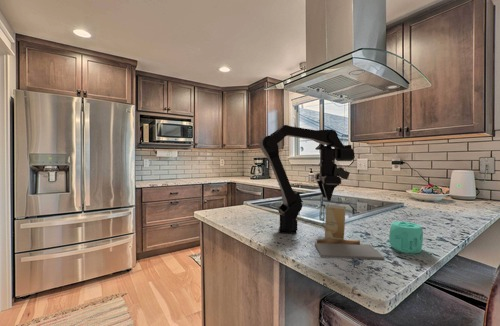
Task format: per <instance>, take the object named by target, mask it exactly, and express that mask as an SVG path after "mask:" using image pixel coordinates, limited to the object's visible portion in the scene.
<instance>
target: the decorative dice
mask: <svg viewBox="0 0 500 326" xmlns="http://www.w3.org/2000/svg"><path fill="white" fill-rule="evenodd" d="M389 228H390V229H389V236H388V237H389V239H388V240H389V245H390V246H391V248H392V249H394V250H396V251H398V252H400V253H406V254H412V255H415V254H421V253H422V249H423V242H424V230H423V227H422V226H421V225H419V224H418V223H414V222H411V221H410V222H409V221H393V222H392V223H391V224H390V227H389Z"/></svg>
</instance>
